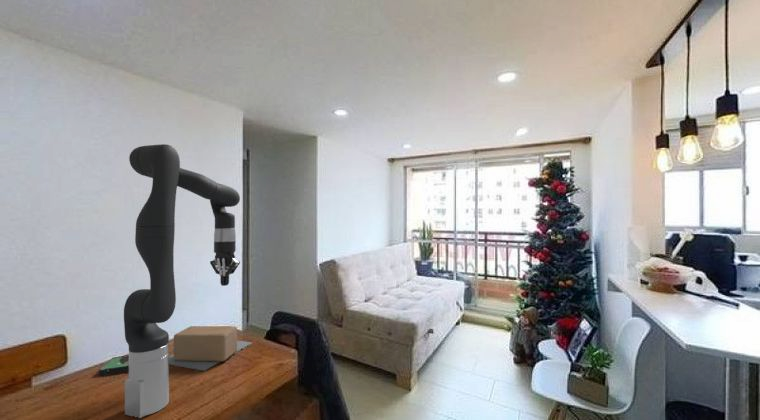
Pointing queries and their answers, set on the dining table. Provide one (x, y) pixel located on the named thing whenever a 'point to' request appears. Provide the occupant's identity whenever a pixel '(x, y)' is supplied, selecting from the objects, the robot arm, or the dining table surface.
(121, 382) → the dining table surface
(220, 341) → the wooden block
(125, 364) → the disk drive
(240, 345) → the mat
